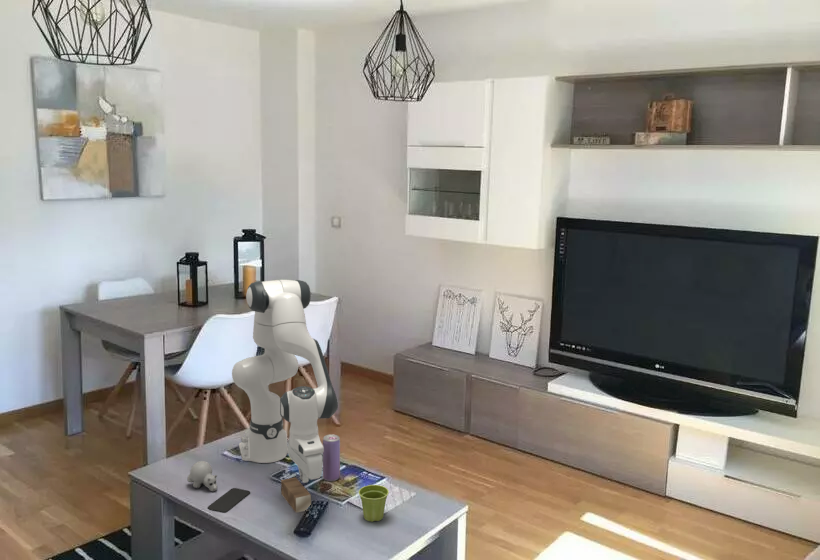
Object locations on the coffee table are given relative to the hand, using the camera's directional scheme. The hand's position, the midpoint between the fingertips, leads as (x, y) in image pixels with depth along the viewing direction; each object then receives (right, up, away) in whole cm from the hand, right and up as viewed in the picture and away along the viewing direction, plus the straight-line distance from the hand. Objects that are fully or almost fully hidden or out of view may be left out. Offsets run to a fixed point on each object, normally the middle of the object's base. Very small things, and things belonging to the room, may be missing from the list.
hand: (304, 480), depth 224 cm
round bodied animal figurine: (-36, -7, +17) cm, 40 cm away
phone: (-26, -9, +8) cm, 28 cm away
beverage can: (+6, -6, +26) cm, 27 cm away
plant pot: (+22, -12, 0) cm, 25 cm away
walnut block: (0, -8, +2) cm, 8 cm away
